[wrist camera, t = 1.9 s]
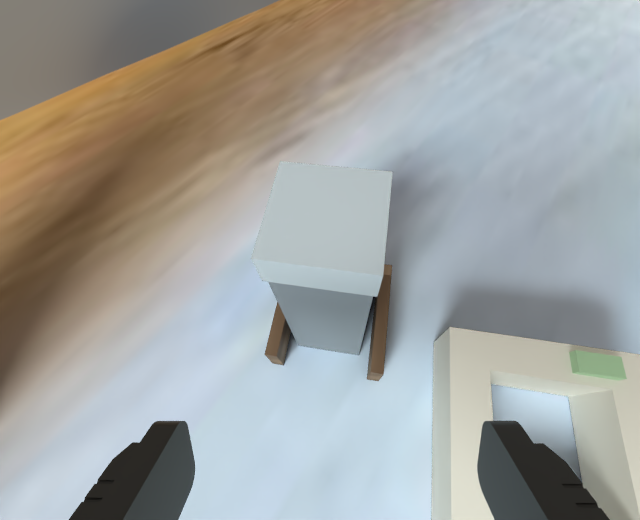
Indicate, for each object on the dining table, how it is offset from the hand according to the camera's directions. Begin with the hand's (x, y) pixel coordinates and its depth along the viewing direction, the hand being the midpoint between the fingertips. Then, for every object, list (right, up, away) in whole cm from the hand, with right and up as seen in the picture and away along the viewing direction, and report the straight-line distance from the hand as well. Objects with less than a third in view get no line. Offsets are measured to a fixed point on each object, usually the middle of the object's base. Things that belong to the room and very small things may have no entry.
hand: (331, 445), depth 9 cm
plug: (+1, 0, +16) cm, 16 cm away
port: (+12, -6, +12) cm, 18 cm away
